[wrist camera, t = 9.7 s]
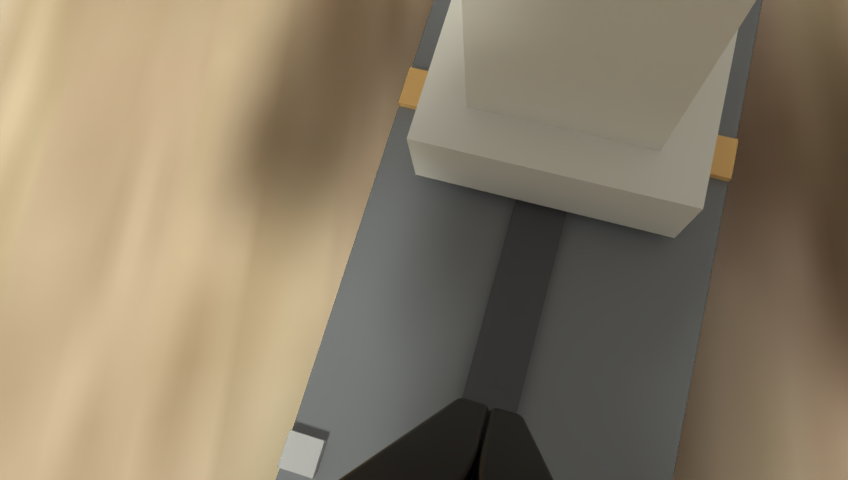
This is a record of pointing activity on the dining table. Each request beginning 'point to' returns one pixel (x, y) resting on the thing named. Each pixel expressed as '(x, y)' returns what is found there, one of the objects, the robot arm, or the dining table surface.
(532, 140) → the fader tab
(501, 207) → the fader console
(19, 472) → the dining table surface
